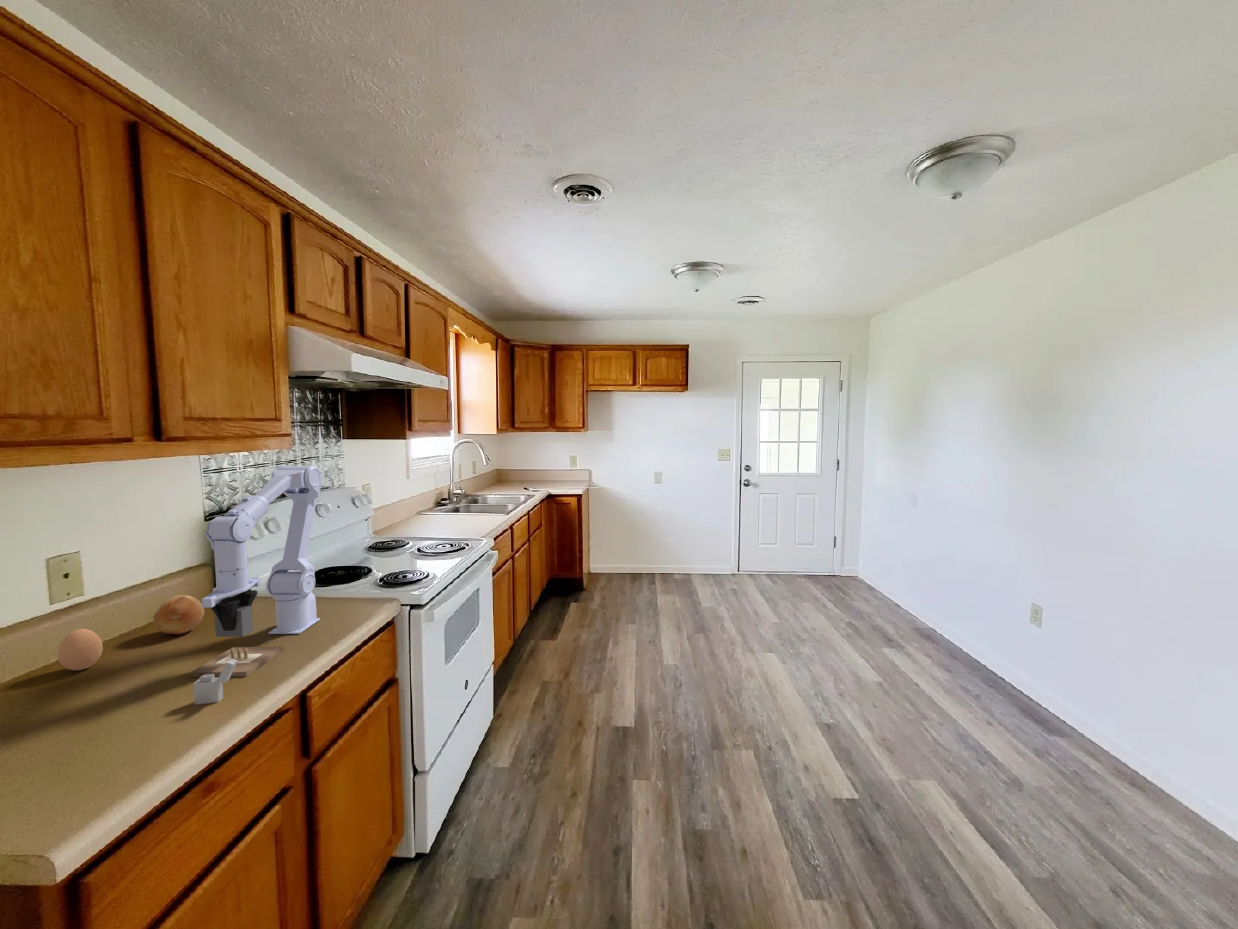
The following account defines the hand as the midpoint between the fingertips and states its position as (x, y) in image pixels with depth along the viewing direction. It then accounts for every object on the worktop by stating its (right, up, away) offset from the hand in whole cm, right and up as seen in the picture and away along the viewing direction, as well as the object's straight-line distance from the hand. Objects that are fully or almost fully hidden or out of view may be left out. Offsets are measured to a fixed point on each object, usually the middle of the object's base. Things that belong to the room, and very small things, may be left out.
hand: (235, 626), depth 109 cm
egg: (-32, -9, -2) cm, 34 cm away
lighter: (+8, -10, -14) cm, 19 cm away
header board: (+1, -9, +1) cm, 9 cm away
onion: (-28, -8, +17) cm, 33 cm away
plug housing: (0, -2, 0) cm, 2 cm away
